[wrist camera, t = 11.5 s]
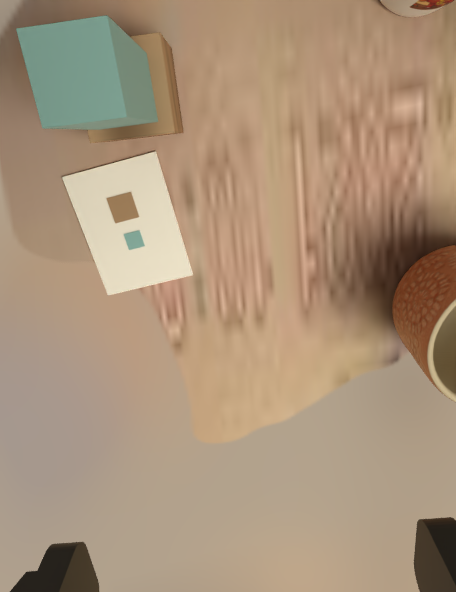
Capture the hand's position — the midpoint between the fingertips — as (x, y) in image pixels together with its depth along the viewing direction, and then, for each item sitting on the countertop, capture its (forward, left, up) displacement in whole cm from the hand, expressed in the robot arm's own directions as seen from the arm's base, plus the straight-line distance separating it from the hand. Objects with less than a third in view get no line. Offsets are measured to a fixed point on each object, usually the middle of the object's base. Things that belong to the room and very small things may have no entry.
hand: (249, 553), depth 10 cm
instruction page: (+10, -2, -32) cm, 34 cm away
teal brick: (+7, -13, -26) cm, 30 cm away
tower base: (+7, -13, -32) cm, 36 cm away
